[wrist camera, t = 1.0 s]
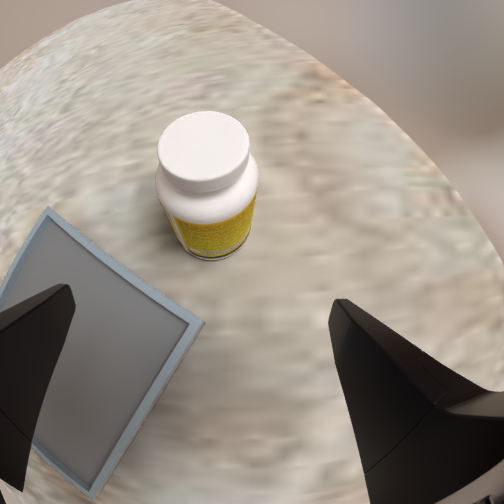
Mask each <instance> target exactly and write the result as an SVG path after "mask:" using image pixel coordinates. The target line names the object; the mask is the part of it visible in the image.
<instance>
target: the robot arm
mask: <svg viewBox="0 0 504 504" xmlns="http://www.w3.org/2000/svg"><path fill="white" fill-rule="evenodd" d="M75 309H76V304H75V300H74V297H73V293H72V290H71V287H70V286H69V285H68V284H63V283H59V284H57V285H54V286H52V287H50V288H48V289H46V290H44V291H42V292H40V293H38V294H36V295H34V296H32V297H30V298H28V299H26V300H24V301H22V302H20V303H18V304H16V305H14V306H12V307H10V308H8V309H6V310H4V311H2V312H0V479H2V480H3V481H5V482H6V483H8V484H9V485H11V486H12V487H14V488H16V489H17V490H19V491H21V492H23V488H24V481H25V475H26V469H27V464H28V459H29V454H30V449H31V445H32V443H31V442H32V440H33V436H34V432H35V428H36V425H37V421H38V417H39V414H40V411H41V407H42V404H43V401H44V398H45V395H46V392H47V389H48V386H49V383H50V380H51V377H52V375H53V372H54V369H55V367H56V364H57V361H58V359H59V356H60V354H61V351H62V349H63V346H64V343H65V340H66V337H67V334H68V331H69V328H70V325H71V322H72V319H73V316H74V313H75ZM328 325H329V331H330V336H331V342H332V348H333V354H334V360H335V364H336V368H337V372H338V375H339V379H340V382H341V386H342V389H343V393H344V396H345V400H346V404H347V407H348V411H349V415H350V419H351V422H352V426H353V430H354V434H355V438H356V442H357V446H358V450H359V454H360V458H361V463H362V467H363V471H364V474H365V475H364V476H365V481H366V485H367V490H368V495H369V499H370V504H504V392H494V391H489V390H486V389H484V388H482V387H480V386H478V385H476V384H475V383H473V382H471V381H470V380H468V379H466V378H465V377H463V376H461V375H459V374H458V373H456V372H454V371H453V370H451V369H449V368H448V367H446V366H444V365H443V364H441V363H440V362H438V361H437V360H435V359H434V358H432V357H431V356H429V355H428V354H427V353H425V352H424V351H422V350H421V349H419V348H418V347H417V346H415V345H414V344H412V343H411V342H409V341H408V340H406V339H405V338H404V337H402V336H401V335H399V334H398V333H396V332H395V331H393V330H392V329H390V328H389V327H388V326H386V325H385V324H383V323H382V322H380V321H379V320H377V319H376V318H374V317H373V316H371V315H370V314H369V313H367V312H366V311H364V310H363V309H361V308H360V307H358V306H357V305H355V304H354V303H352V302H351V301H349V300H348V299H336V300H334V302H333V305H332V309H331V313H330V316H329V321H328ZM0 504H6V503H5V500H4V498H3V495H2V493H1V491H0Z"/></svg>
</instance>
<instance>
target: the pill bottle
mask: <svg viewBox="0 0 504 504" xmlns="http://www.w3.org/2000/svg"><path fill="white" fill-rule="evenodd" d="M249 147H250V142H249V136H248V134H247V131H246V130H245V128H244V127H243V126H242V124H241V123H239V122H238V121H237V120H236V119H234V118H233V117H231V116H229V115H226V114H223V113H220V112H214V111H200V112H194V113H190V114H188V115H185V116H182V117H180V118H179V119H177V120H175V121H174V122H172V123H171V124H170V125H169V126H168V127H167V128H166V129H165V131H164V132H163V133H162V135H161V137H160V139H159V142H158V147H157V153H158V159H159V162H160V163H159V166H158V168H157V172H156V179H155V184H156V191H157V194H158V197H159V200H160V202H161V204H162V207H163V209H164V211H165V213H166V215H167V217H168V219H169V222H170V224H171V226H172V228H173V230H174V232H175V234H176V236H177V238H178V240H179V242H180V243H181V245H182V246H183V247H184V248H185V249H186V250H187V251H188V252H189V253H190V254H192V255H194V256H195V257H198V258H200V259H204V260H219V259H223V258H226V257H228V256H231V255H232V254H234V253H235V252H237V251H238V250H239V249H240V248H241V247H242V246H243V244H244V243H245V241H246V239H247V237H248V235H249V231H250V228H251V221H252V216H253V210H254V204H255V198H256V193H257V187H258V168H257V164H256V161H255V159H254V157H253V156H252V154H251V153H250V151H249Z"/></svg>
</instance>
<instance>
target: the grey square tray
mask: <svg viewBox="0 0 504 504" xmlns="http://www.w3.org/2000/svg"><path fill="white" fill-rule="evenodd" d="M59 283H63V284H68V285H69V286H70V287H71V290H72V293H73V297H74V300H75V304H76V309H75V313H74V316H73V319H72V322H71V325H70V328H69V331H68V334H67V337H66V340H65V343H64V346H63V349H62V351H61V354H60V356H59V359H58V361H57V364H56V367H55V369H54V372H53V375H52V377H51V380H50V383H49V386H48V389H47V392H46V395H45V398H44V401H43V404H42V407H41V411H40V414H39V417H38V421H37V425H36V428H35V432H34V436H33V440H32V442H31V443H32V445H31V448H32V449H33V450H34V451H35V452H36V453H37V454H38V455H39V456H40V457H41V458H42V459H43V460H44V461H45V462H46V463H47V464H49V465H50V466H51V467H52V468H53V469H54V470H55V471H56V472H58V473H59V474H60V475H61V476H62V477H63V478H65V479H66V480H67V481H68V482H69V483H71V484H72V485H73V486H75V487H76V488H77V489H78V490H80V491H81V492H82V493H84V494H85V495H86V496H88V497H89V498H91V499H92V500H94V498H95V497H96V496H97V495H98V494H99V493H100V492H101V491H102V489H103V488H104V486H105V485H106V483H107V481H108V480H109V478H110V476H111V475H112V473H113V472H114V470H115V468H116V467H117V465H118V463H119V462H120V460H121V459H122V457H123V455H124V454H125V452H126V450H127V449H128V447H129V446H130V444H131V442H132V441H133V439H134V438H135V436H136V434H137V433H138V431H139V429H140V428H141V426H142V425H143V423H144V421H145V420H146V418H147V416H148V415H149V413H150V412H151V410H152V408H153V407H154V405H155V404H156V402H157V400H158V399H159V397H160V395H161V394H162V392H163V391H164V389H165V387H166V386H167V384H168V383H169V381H170V379H171V378H172V376H173V375H174V373H175V371H176V370H177V368H178V366H179V365H180V363H181V362H182V360H183V358H184V357H185V355H186V354H187V352H188V350H189V349H190V347H191V346H192V344H193V342H194V341H195V339H196V337H197V336H198V334H199V333H200V331H201V329H202V328H203V326H204V325H205V323H206V322H204V321H202V320H201V319H199V318H198V317H196V316H195V315H193V314H191V313H190V312H188V311H187V310H185V309H184V308H182V307H181V306H179V305H178V304H176V303H175V302H173V301H172V300H170V299H169V298H167V297H166V296H164V295H163V294H161V293H160V292H158V291H157V290H155V289H154V288H153V287H151V286H150V285H148V284H147V283H145V282H144V281H143V280H141V279H140V278H138V277H137V276H136V275H134V274H133V273H131V272H130V271H129V270H127V269H126V268H125V267H123V266H122V265H121V264H119V263H118V262H117V261H115V260H114V259H113V258H111V257H110V256H109V255H107V254H106V253H105V252H103V251H102V250H101V249H100V248H98V247H97V246H96V245H95V244H93V243H92V242H91V241H89V240H88V239H87V238H86V237H85V236H83V235H82V234H81V233H80V232H78V231H77V230H76V229H75V228H74V227H72V226H71V225H70V224H69V223H68V222H66V221H65V220H64V219H63V218H62V217H61V216H59V215H58V214H57V213H56V212H55V211H54V210H52V209H51V208H50V207H49V206H47V207H46V209H45V210H44V212H43V213H42V215H41V216H40V218H39V219H38V221H37V222H36V224H35V225H34V227H33V229H32V230H31V232H30V233H29V235H28V237H27V238H26V240H25V242H24V243H23V245H22V247H21V248H20V250H19V252H18V254H17V255H16V257H15V259H14V261H13V263H12V265H11V267H10V268H9V270H8V272H7V274H6V276H5V278H4V280H3V282H2V285H1V287H0V312H2V311H4V310H6V309H8V308H10V307H12V306H14V305H16V304H18V303H20V302H22V301H24V300H26V299H28V298H30V297H32V296H34V295H36V294H38V293H40V292H42V291H44V290H46V289H48V288H50V287H52V286H54V285H57V284H59Z"/></svg>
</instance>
